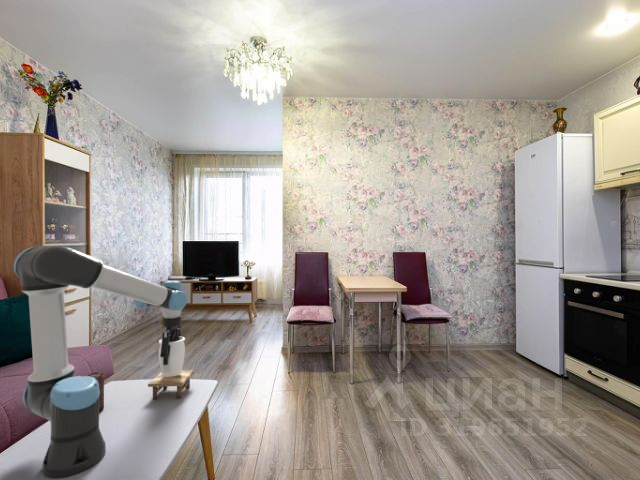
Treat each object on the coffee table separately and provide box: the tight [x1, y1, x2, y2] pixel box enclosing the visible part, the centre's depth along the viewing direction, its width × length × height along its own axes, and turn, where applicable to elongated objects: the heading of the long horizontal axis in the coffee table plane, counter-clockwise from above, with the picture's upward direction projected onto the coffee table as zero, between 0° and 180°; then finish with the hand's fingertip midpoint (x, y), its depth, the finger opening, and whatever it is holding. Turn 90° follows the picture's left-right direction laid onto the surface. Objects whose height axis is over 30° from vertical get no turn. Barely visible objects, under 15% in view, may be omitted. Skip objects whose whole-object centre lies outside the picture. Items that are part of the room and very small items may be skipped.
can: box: [87, 372, 105, 413], centre depth 127 cm, size 6×6×14 cm
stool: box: [147, 369, 195, 400], centre depth 142 cm, size 14×14×7 cm
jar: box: [158, 335, 186, 377], centre depth 143 cm, size 11×10×15 cm
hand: (171, 367), depth 142 cm, fingers closed on jar, 10 cm apart
